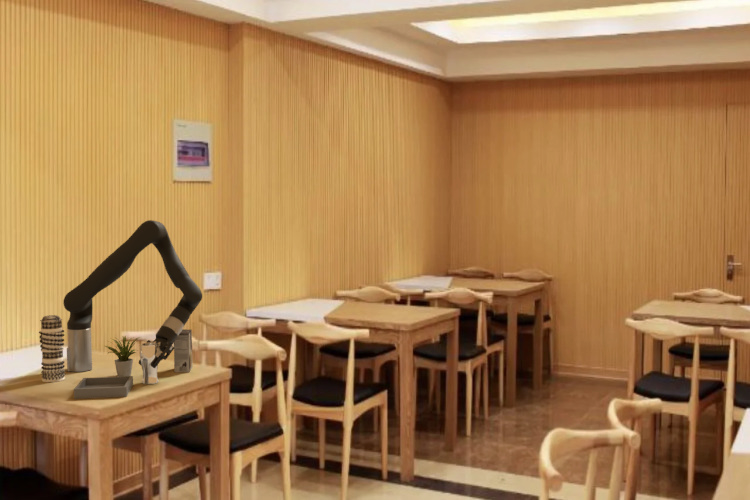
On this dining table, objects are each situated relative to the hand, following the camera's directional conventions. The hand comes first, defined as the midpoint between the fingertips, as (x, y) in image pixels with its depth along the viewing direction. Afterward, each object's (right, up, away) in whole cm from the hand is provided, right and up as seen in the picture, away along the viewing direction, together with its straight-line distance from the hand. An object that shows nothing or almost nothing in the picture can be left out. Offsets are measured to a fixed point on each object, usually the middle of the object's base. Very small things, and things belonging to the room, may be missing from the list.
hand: (146, 365), depth 323 cm
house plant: (-12, -6, +16) cm, 21 cm away
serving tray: (-12, -8, -12) cm, 19 cm away
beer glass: (+1, -7, +2) cm, 7 cm away
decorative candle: (-38, -7, +8) cm, 40 cm away
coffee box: (+9, -5, +24) cm, 26 cm away
